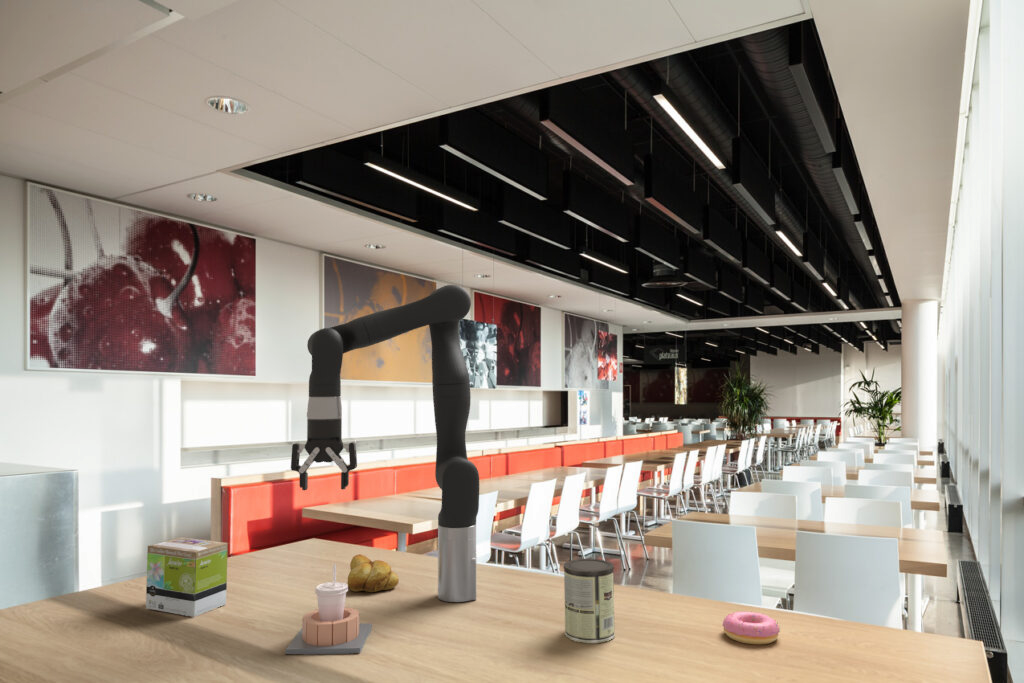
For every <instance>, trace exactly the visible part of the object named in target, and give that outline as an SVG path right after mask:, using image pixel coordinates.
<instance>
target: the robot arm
mask: <svg viewBox="0 0 1024 683" xmlns="http://www.w3.org/2000/svg"><path fill="white" fill-rule="evenodd" d="M471 300H472V299H471V297H470V294H469V293H468V291H467V290H466V289H465V288H463V287H461V286H459V285H456V284H447V285H443V286H441V287H438V288H437V289H435V290H433V291H432V292H430V294H429V295H427V296H426V297H423V298H421V299H418V300H415V301H412V302H410V303H407V304H404V305H399V306H395V307H392V308H388V309H383V310H380V311H377V312H373V313H370V314H366V315H363V316H360V317H357V318H354V319H352V320H350V321H348V322H346V323H343V324H338V325H334V326H331V327H324V328H320V329H319V330H318V329H317V331H314V332H313V333H312V334H311V335H310V336H309V338H308V339H307V345H306V346H307V351H308V353H309V354H310V355H311V371H310V375H309V378H308V379H309V380H308V401H307V412H306V418H307V420H306V422H307V423H306V424H307V425H306V426H307V427H306V430H307V431H306V442H305V443H299V442H294V443H293V444H292V446H291V447H292V448H291V459H290V470H291V471H293V472H297V473H298V474H299V488H300V489H301V488H302V489H301V490H302V491H307V490H308V487H309V486H308V484H309V482H308V481H309V480H308V479H309V478H308V477H309V476H308V475H309V473H308V471H307V470H308V469H310V467H311V465H312V464H313V463H314V462H315V463H332V462H334V463H335V465H336V466H337V467H338V468H339V469H340V470H341V473H340V489H341V490H346V488H347V487H348V486H349V484H350V483H349V479H350V477H349V474H350V471H353V470H355V469H357V468H358V467H357V466H358V460H357V458H358V457H357V443H356V442H354V441H352V442H348V443H347V442H346V443H344V442H343V440H342V434H343V433H342V427H343V426H342V425H343V424H342V423H343V422H342V420H343V418H342V416H343V415H342V414H343V412H342V411H343V410H342V409H343V408H342V407H343V406H342V398H341V396H342V395H341V394H342V392H341V391H342V389H341V388H342V387H341V384H342V383H341V372H342V365H343V356H344V354H346V353H348V352H350V351H351V352H352V351H353V350H357V349H364V348H367V347H370V346H371V347H372V346H374V345H377V344H380V343H382V342H385V341H388V340H391V339H393V338H396V337H398V336H401V335H403V334H406V333H408V332H410V331H411V332H412V331H414V330H416V329H420V328H423V327H427V326H428V327H429V334H430V341H431V342H430V344H431V371H432V372H431V376H432V400H433V401H432V402H433V413H434V424H435V425H434V426H435V431H436V432H435V433H436V456H435V470H434V474H435V475H434V476H435V480H436V481H435V482H436V484H437V486H438V487H439V489H441V508H440V511H439V512H438V514H437V515H438V516H437V598H438V599H439V600H440V601H443V602H448V603H461V602H462V603H463V602H469V601H475V600H477V516H478V513H479V508H480V476H479V475H480V474H479V470H478V468H477V466H476V464H474V463H473V462H472V461H470V460H469V459H468V453H467V445H466V432H467V426H468V421H469V416H470V410H471V382H470V374H469V373H470V372H469V370H468V366H467V363H466V361H465V357H464V355H463V352H462V349H461V348H462V347H461V344H460V321H462V320H463V319H464V318H465V317H466V316H467V315H468V314H469V312H470V309H471V306H472V301H471ZM304 449H305V451H306V452H307V454H308V455H309V456H308V457H307V458H306V459H305V461H304V463H303V464H302V465H300V454H302V453H303V451H304ZM344 449H345V452H346V453H349V454H348V455H349V456H348V457H349V464H347V463H346V462H345V460H344V458H343V457H342V455H341V453H342V451H343V450H344Z"/></svg>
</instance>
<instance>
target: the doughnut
mask: <svg viewBox="0 0 1024 683" xmlns="http://www.w3.org/2000/svg"><path fill="white" fill-rule="evenodd" d="M722 627H723V631H724V633H725V634H726V636H727V637H728V638H730V639H732V640H733V641H735V642H739V643H742V644H747V645H759V646H761V645H768V644H771V643H773V642H775V641H776V640H777V639H778V637H779V633H780V632H781V630H780V629H781V628H780V626H779V624H778V622H777V620H776V619H773V618H772V617H770V615H767V614H764V613H759V612H754V611H736V612H734V611H733V612H731V613H728V614H727V615H726V616H725V617H723V621H722Z"/></svg>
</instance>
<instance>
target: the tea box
mask: <svg viewBox="0 0 1024 683" xmlns="http://www.w3.org/2000/svg"><path fill="white" fill-rule="evenodd" d="M228 544H229V543H228V542H224V541H223V542H222V541H217V540H208V539H200V538H199V539H197V538H191V537H184V536H183V537H182V536H180V537H176V538H173V539H170V540H167V541H162V542H158V543H155V544H150V545H147V555H146V560H147V562H146V564H147V565H146V587H145V588H146V593H145V595H146V596H145V608H146V610H154V611H158V612H159V611H160V612H164V613H169V614H176V615H179V614H180V615H179V616H184V615H185V616H184V617H188V616H191V617H190V618H193V617H194V618H196V617H195V616H197V615H199V616H201V615H200V614H202V613H204V614H206V613H205V612H207V611H209V610H212V609H214V608H217V607H220V606H222V605H224V606H226V605H227V587H228V586H227V585H228V584H227V582H228ZM225 604H226V605H225ZM222 607H223V606H222ZM220 608H221V607H220ZM217 609H218V608H217ZM212 611H213V610H212ZM209 612H210V611H209ZM207 613H208V612H207ZM202 615H203V614H202ZM197 617H198V616H197Z"/></svg>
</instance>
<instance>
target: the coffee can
mask: <svg viewBox="0 0 1024 683" xmlns="http://www.w3.org/2000/svg"><path fill="white" fill-rule="evenodd" d="M562 565H563V570H564V571H563V572H564V573H563V575H564V576H563V577H564V579H563V580H564V582H563V583H564V584H563V585H564V587H563V588H564V636H565V635H566V636H565V637H566V638H567V637H568V638H570V639H571V641H572V640H574V641H573V642H576V641H577V642H576V643H580V642H584V643H583V644H600V643H599V642H604V643H606V642H605V641H607V642H609V640H610V641H612V640H613V639H615V636H616V633H615V593H614V592H615V588H614V586H615V582H614V570H615V565H614V563H612V562H610V561H609V560H604V559H597V558H578V559H577V558H576V559H570V560H567V561H565V562H564V563H563V564H562ZM568 638H567V639H568ZM570 639H569V640H570ZM611 639H612V640H611Z"/></svg>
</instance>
